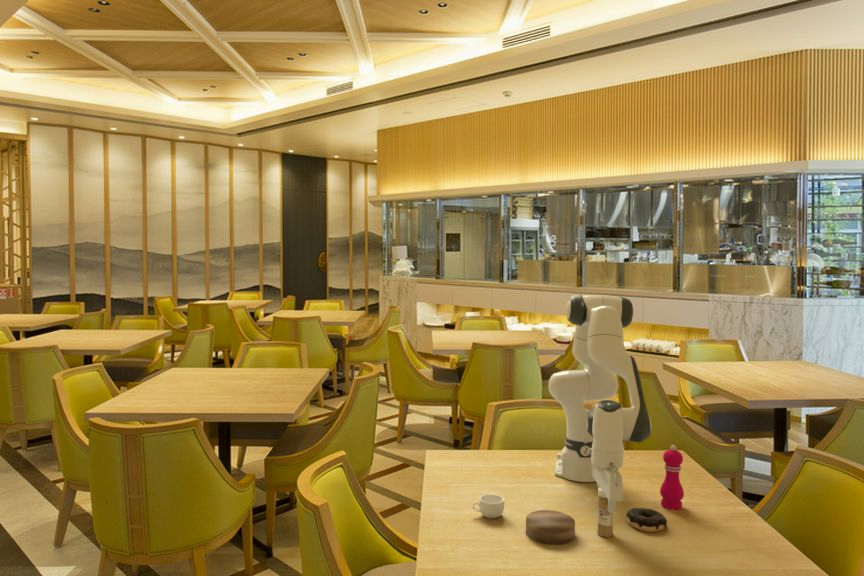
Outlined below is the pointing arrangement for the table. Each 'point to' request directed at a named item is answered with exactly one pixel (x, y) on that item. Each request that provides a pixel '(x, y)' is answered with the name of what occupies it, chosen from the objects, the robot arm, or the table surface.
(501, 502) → the teacup
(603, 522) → the sprinkles bottle
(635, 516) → the donut
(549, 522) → the disc
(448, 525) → the table surface
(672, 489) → the pepper mill
